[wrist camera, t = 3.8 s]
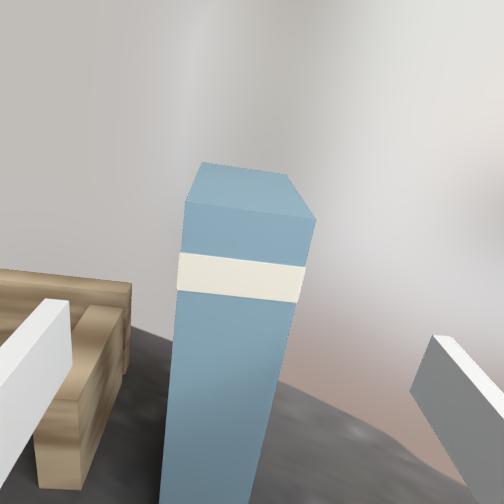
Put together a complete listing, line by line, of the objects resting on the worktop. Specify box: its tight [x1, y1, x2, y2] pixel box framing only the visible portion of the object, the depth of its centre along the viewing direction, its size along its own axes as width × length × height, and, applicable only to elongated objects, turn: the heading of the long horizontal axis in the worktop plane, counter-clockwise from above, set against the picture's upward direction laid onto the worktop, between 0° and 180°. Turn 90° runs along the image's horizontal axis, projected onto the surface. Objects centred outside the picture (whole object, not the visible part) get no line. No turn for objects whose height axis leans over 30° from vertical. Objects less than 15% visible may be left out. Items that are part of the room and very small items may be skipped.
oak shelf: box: [0, 269, 132, 490], centre depth 31 cm, size 14×16×10 cm
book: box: [159, 162, 316, 504], centre depth 26 cm, size 10×6×24 cm, turn 3°
